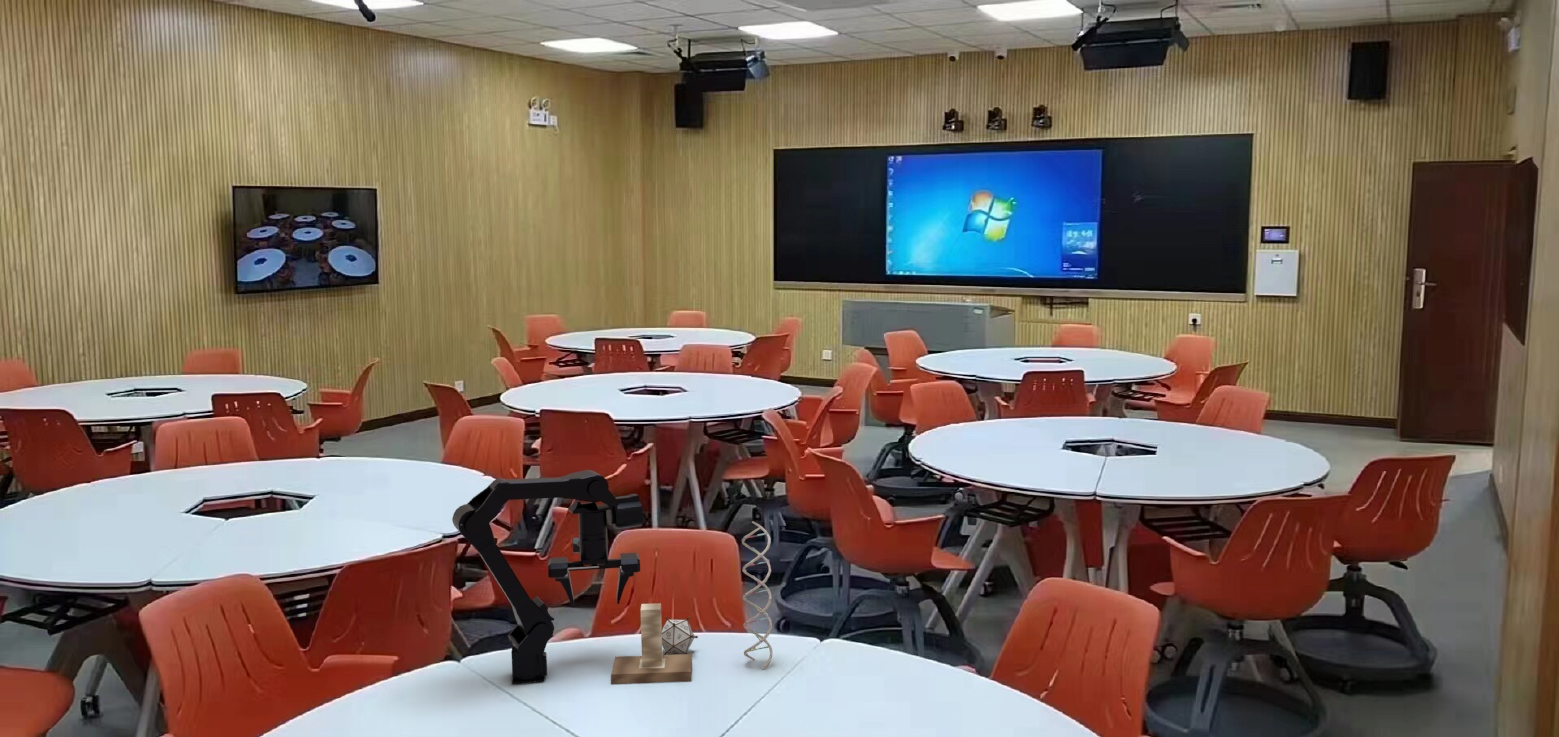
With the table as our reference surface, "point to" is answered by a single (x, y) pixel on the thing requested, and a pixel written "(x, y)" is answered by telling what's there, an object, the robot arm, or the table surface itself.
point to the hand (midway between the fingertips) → (595, 605)
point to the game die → (677, 636)
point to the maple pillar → (651, 635)
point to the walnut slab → (651, 670)
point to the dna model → (761, 583)
